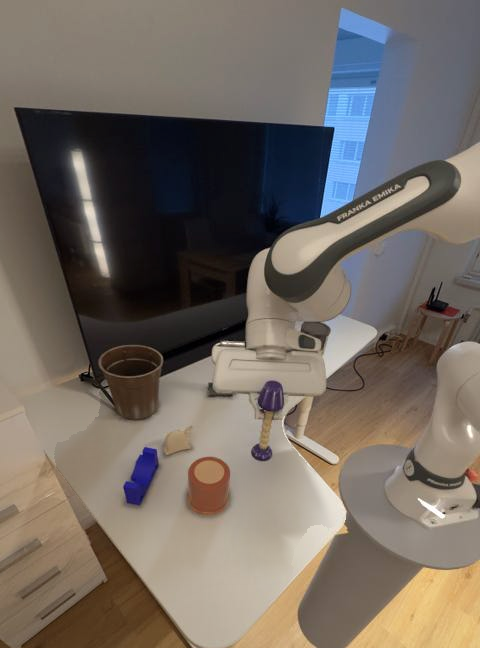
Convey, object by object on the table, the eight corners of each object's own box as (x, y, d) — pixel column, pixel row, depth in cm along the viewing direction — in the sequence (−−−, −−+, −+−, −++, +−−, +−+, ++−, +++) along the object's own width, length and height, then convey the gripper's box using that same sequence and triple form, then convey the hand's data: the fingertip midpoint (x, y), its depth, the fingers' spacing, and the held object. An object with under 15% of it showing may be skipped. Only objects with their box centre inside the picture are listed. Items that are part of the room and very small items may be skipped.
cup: (228, 481, 83) (230, 455, 77) (229, 515, 76) (232, 489, 70) (188, 480, 82) (188, 454, 76) (186, 515, 75) (185, 489, 69)
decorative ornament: (161, 445, 90) (159, 430, 87) (191, 437, 93) (191, 423, 90) (165, 455, 88) (164, 441, 84) (196, 447, 91) (196, 433, 87)
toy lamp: (251, 463, 66) (265, 394, 54) (245, 445, 69) (257, 377, 58) (274, 460, 67) (293, 392, 55) (268, 443, 70) (284, 376, 59)
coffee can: (309, 373, 123) (318, 337, 113) (288, 360, 128) (295, 325, 118) (326, 364, 128) (336, 329, 119) (305, 352, 133) (313, 318, 124)
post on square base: (229, 383, 114) (232, 351, 106) (236, 397, 108) (239, 364, 100) (202, 386, 111) (203, 353, 103) (208, 400, 106) (209, 367, 98)
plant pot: (158, 386, 109) (153, 340, 98) (173, 417, 99) (170, 370, 88) (104, 396, 103) (94, 349, 92) (114, 431, 93) (104, 382, 82)
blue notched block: (141, 462, 85) (138, 445, 81) (158, 465, 85) (156, 449, 81) (120, 501, 76) (116, 484, 72) (139, 505, 76) (136, 489, 72)
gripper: (212, 334, 57) (210, 416, 57) (330, 341, 59) (329, 420, 59) (211, 345, 64) (209, 419, 63) (318, 350, 66) (317, 422, 65)
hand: (268, 419), depth 61 cm, fingers closed on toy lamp
